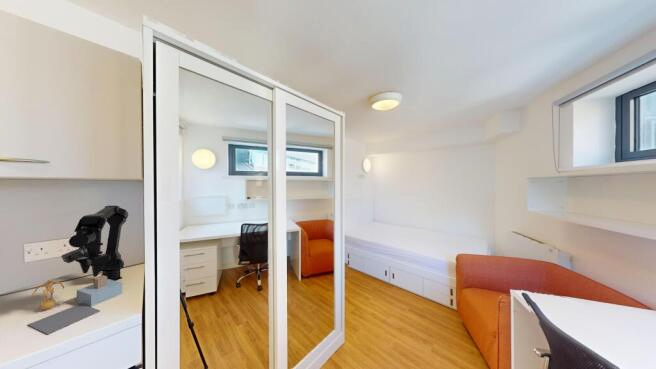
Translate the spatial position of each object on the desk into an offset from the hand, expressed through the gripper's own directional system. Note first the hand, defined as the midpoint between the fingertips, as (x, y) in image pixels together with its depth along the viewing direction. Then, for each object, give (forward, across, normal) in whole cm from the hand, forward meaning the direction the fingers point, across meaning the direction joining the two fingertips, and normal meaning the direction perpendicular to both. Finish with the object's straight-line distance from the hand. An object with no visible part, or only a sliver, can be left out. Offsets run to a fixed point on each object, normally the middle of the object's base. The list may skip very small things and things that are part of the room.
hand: (90, 274), depth 93 cm
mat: (+13, +7, -9) cm, 17 cm away
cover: (+12, 0, +4) cm, 13 cm away
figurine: (+13, -9, -9) cm, 18 cm away
